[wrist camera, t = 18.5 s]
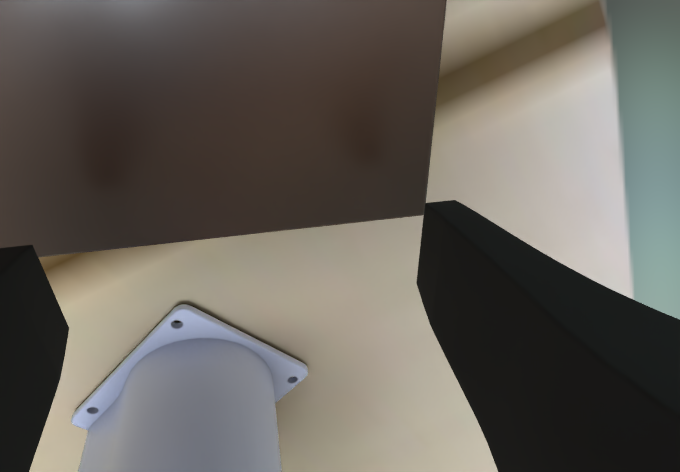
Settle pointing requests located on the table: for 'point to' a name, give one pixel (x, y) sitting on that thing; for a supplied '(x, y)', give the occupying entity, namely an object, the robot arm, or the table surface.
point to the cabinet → (211, 117)
